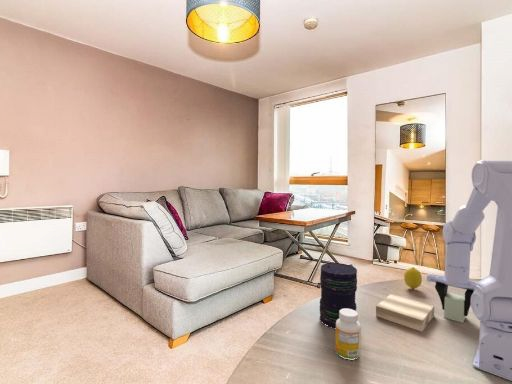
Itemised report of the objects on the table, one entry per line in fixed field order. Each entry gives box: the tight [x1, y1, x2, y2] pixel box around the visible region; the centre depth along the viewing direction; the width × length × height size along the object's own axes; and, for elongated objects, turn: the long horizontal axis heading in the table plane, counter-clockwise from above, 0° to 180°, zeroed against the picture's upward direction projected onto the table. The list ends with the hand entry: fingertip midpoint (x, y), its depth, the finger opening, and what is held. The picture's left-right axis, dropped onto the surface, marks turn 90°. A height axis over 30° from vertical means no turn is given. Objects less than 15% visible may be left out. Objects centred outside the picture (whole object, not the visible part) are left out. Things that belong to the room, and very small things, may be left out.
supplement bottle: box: [334, 308, 362, 359], centre depth 64 cm, size 5×5×10 cm
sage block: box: [443, 292, 467, 324], centre depth 82 cm, size 4×4×6 cm
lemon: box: [403, 266, 423, 290], centre depth 102 cm, size 6×6×8 cm
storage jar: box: [319, 262, 358, 329], centre depth 79 cm, size 10×10×15 cm
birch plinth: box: [375, 293, 435, 333], centre depth 82 cm, size 12×12×3 cm
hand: (455, 311), depth 82 cm, fingers closed on sage block, 4 cm apart
